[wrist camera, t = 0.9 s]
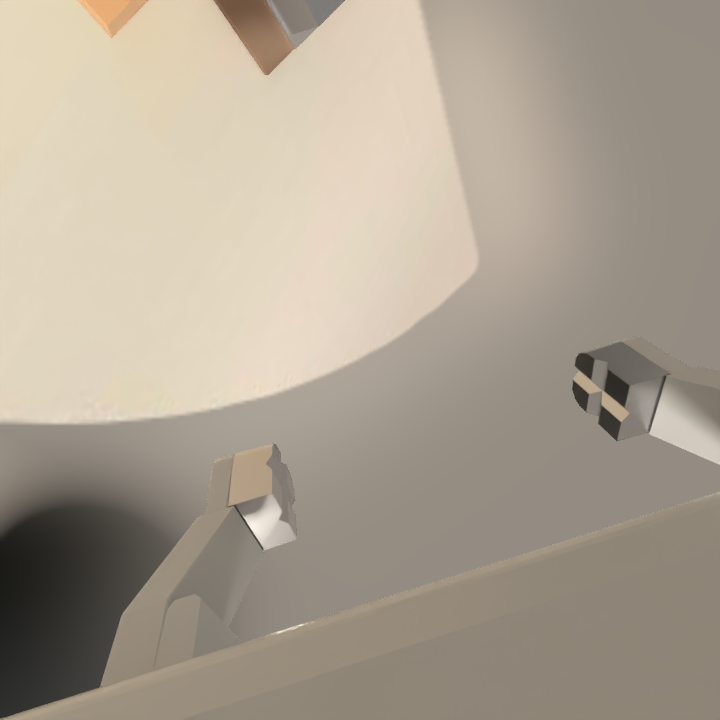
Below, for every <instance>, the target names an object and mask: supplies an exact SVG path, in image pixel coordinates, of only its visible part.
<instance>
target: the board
mask: <svg viewBox="0 0 720 720" xmlns="http://www.w3.org/2000/svg"><path fill="white" fill-rule="evenodd" d="M214 1H215V3H216V4H217V5H218V7H219V8H220V10H221V11H222V13H223V14H224V16H225V17H226V19H227V20H228V22H229V23H230V24H231V26H232V27H233V29H234V30H235V32H236V33H237V35H238V36H239V38H240V39H241V41H242V42H243V43H244V45H245V46H246V48H247V49H248V51H249V52H250V54H251V55H252V57H253V58H254V60H255V61H256V62H257V64H258V65H259V67H260V68H261V70H262V71H263V73H264V74H265V75H269V74H270V73H271V72H272V71H273V70H274V69H275V68H276V67H277V66H278V65H279V64H280V63H281V62H282V61H283V60H284V59H285V58H286V57H287V56H288V55H289V54H290V53H291V52H292V51H293V50H294V49H293V47H292V46H291V44H290V43H289V41H288V39H287V38H286V36H285V34H284V33H283V31H282V29H281V28H280V26H279V24H278V23H277V21H276V20H275V18H274V16H273V15H272V13H271V11H270V10H269V8H268V6H267V5H266V3H265V1H264V0H214Z"/></svg>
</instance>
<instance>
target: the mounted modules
mask: <svg viewBox="0 0 720 720" xmlns="http://www.w3.org/2000/svg"><path fill="white" fill-rule="evenodd" d="M344 1H345V0H270V2H271V3H272V5H273V7H274V8H275V10H276V12H277V13H278V15H279V17H280V18H281V20H282V22H283V23H284V25H285V27H286V28H287V30H288V32H289V33H290V35H293V34H296V33H299V32H302V31H306V30H309V29H312V28H316V27H319V26H320V25H321V24H322V23H323V22H324V21H325V20H326V19H327V18H328V17H329V16H330V15H331V14H332V13H333V12H334V11H335V10H336V9H337V8H338V7H339V6H340V5H341V4H342V3H343V2H344Z"/></svg>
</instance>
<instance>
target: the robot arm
mask: <svg viewBox="0 0 720 720" xmlns="http://www.w3.org/2000/svg"><path fill="white" fill-rule="evenodd" d="M575 367H576V368H577V369H578V370H579V372H578V374H577V375H576V376H575V377H574V379H573V386H572V390H573V393H574V396H575V399H576V401H577V402H578V404H579V406H580V407H581V408H582V409H583V410H584V411H586V412H587V413H590V414H593V415H595V416H598V424H599V425H600V426H601V427H602V428H603V429H604V430H605V431H607V432H608V433H609V434H610V435H611V436H612V437H613V438H614V439H615V440H616V441H620V440H624V439H627V438H630V437H634V436H638V435H642V434H645V433H649V432H650V435H653V436H655V437H658V438H660V439H662V440H664V441H666V442H669V443H671V444H674V445H676V446H678V447H680V448H683V449H685V450H687V451H690V452H692V453H694V454H696V455H699V456H701V457H703V458H706V459H708V460H710V461H712V462H715V463H717V464H719V465H720V371H719V370H714V369H709V368H704V367H700V366H697V367H694V368H692V367H690V366H689V365H687V364H685V363H684V362H682V361H680V360H678V359H677V358H675V357H674V356H672V355H670V354H669V353H667V352H665V351H663V350H662V349H660V348H658V347H657V346H655V345H653V344H652V343H650V342H648V341H647V340H645V339H643V338H642V337H637V336H633V337H630V338H627V339H623V340H620V341H617V342H615V343H611V344H608V345H604V346H601V347H598V348H594V349H591V350H588V351H585V352H581V353H579V354H578V356H577V357H576V360H575ZM294 501H295V495H294V488H293V482H292V478H291V475H290V472H289V470H288V468H287V465H285V464H283V463H281V453H280V451H279V449H278V447H277V445H276V444H274V443H273V444H269V445H266V446H262V447H258V448H254V449H251V450H247V451H243V452H239V453H236V454H234V455H230V456H226V457H222V458H219V459H216V460H215V462H214V463H213V468H212V473H211V479H210V485H209V490H208V496H207V502H206V508H205V514H204V515H201V516H199V517H197V519H196V520H195V521H194V523H193V524H192V525H191V526H190V528H189V529H188V530H187V532H186V533H185V534H184V536H183V537H182V538H181V539H180V541H179V542H178V543H177V545H176V546H175V547H174V548H173V550H172V551H171V552H170V554H169V555H168V556H167V557H166V559H165V560H164V561H163V563H162V564H161V565H160V566H159V568H158V569H157V570H156V572H155V573H154V574H153V575H152V577H151V578H150V579H149V580H148V582H147V583H146V584H145V586H144V587H143V588H142V589H141V591H140V592H139V593H138V595H137V596H136V597H135V598H134V600H133V601H132V602H131V604H130V605H129V606H128V608H127V609H126V610H125V611H124V613H123V614H122V616H121V620H120V623H119V626H118V630H117V633H116V636H115V640H114V643H113V646H112V649H111V653H110V656H109V659H108V662H107V666H106V669H105V672H104V676H103V679H102V682H101V686H100V688H97V689H94V690H91V691H88V692H85V693H82V694H78V695H75V696H72V697H69V698H66V699H63V700H59V701H56V702H53V703H50V704H47V705H43V706H40V707H37V708H34V709H31V710H28V711H24V712H21V713H18V714H15V715H12V716H9V717H6V718H2V719H0V720H720V492H718V493H714V494H711V495H708V496H705V497H702V498H699V499H695V500H692V501H689V502H686V503H683V504H679V505H676V506H673V507H670V508H667V509H664V510H660V511H657V512H654V513H651V514H648V515H645V516H641V517H638V518H636V519H632V520H629V521H626V522H623V523H619V524H616V525H613V526H610V527H607V528H604V529H601V530H597V531H594V532H591V533H588V534H585V535H582V536H578V537H575V538H572V539H569V540H566V541H563V542H559V543H556V544H553V545H550V546H547V547H544V548H540V549H537V550H534V551H531V552H528V553H525V554H522V555H519V556H515V557H512V558H509V559H506V560H503V561H500V562H496V563H493V564H490V565H487V566H484V567H481V568H478V569H474V570H471V571H468V572H465V573H462V574H459V575H455V576H452V577H449V578H446V579H443V580H440V581H436V582H433V583H430V584H427V585H424V586H421V587H417V588H414V589H411V590H408V591H405V592H402V593H398V594H395V595H392V596H389V597H386V598H383V599H380V600H376V601H373V602H370V603H367V604H364V605H360V606H357V607H354V608H351V609H348V610H345V611H342V612H338V613H335V614H332V615H329V616H326V617H322V618H319V619H316V620H313V621H310V622H307V623H303V624H300V625H297V626H294V627H291V628H288V629H284V630H281V631H278V632H275V633H272V634H269V635H266V636H262V637H259V638H256V639H253V640H250V641H246V642H243V643H242V642H241V641H240V640H239V639H238V638H237V637H236V636H235V635H234V633H233V632H232V631H231V630H230V629H229V628H228V627H229V625H230V623H231V621H232V619H233V616H234V615H235V612H236V610H237V608H238V606H239V604H240V602H241V600H242V598H243V596H244V594H245V591H246V589H247V587H248V585H249V583H250V581H251V579H252V577H253V575H254V573H255V570H256V568H257V566H258V564H259V562H260V560H261V558H262V556H263V554H264V552H263V551H264V550H266V549H270V548H272V547H276V546H279V545H281V544H285V543H287V542H290V541H293V540H296V539H297V528H296V515H295V513H294V511H293V509H292V507H291V506H292V504H293V503H294Z"/></svg>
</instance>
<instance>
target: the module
mask: <svg viewBox="0 0 720 720" xmlns="http://www.w3.org/2000/svg"><path fill="white" fill-rule="evenodd" d="M78 1H79V2H80V3H81V4H82V5H83V6H84V7H85V9H86V10H87V11H88V12H89V13H90V14H91V15H92V16H93V18H94V19H95V20H96V21H97V22H98V23H99V24H100V25H101V26H102V28H103V29H104V30H105V31H106V32H107V33H108V34H109V35H110V37H111V38H112V37H113V36H114V35H115V34H116V33H117V32H118V31H119V30H120V29H121V28H122V27H123V26H124V25H125V24H126V23H127V22H128V21H129V20H130V19H131V18H132V16H133V15H134V14H135V13H136V12H137V11H138V10H139V9H140V8H141V7H142V6H143V5H144V4H145V3H146V2H147V1H148V0H78Z"/></svg>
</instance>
